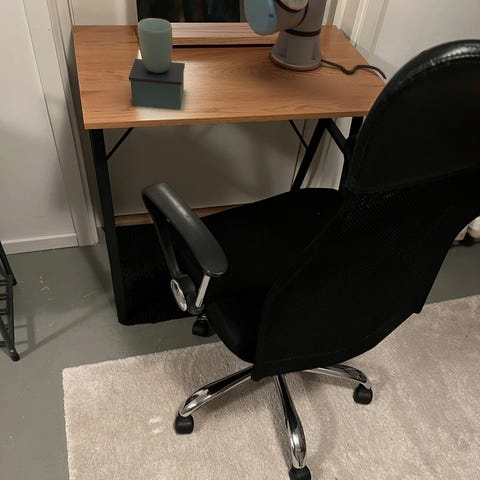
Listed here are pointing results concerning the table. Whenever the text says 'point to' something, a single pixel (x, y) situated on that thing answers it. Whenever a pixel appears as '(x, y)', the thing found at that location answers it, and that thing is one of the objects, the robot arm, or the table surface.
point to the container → (157, 86)
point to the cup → (155, 44)
